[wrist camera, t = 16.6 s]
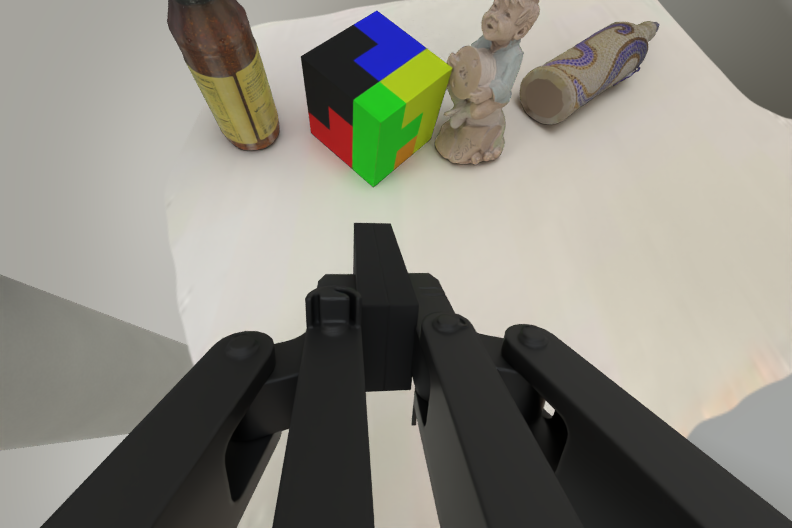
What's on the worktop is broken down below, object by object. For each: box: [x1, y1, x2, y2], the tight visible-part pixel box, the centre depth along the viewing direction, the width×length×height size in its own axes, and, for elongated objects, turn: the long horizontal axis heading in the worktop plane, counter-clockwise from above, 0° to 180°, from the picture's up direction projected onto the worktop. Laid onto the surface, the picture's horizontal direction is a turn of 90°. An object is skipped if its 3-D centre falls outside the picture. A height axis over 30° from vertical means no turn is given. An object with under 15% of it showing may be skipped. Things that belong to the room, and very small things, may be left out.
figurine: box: [435, 0, 540, 164], centre depth 35 cm, size 9×8×20 cm
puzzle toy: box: [301, 11, 452, 187], centre depth 38 cm, size 10×10×10 cm
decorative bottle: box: [520, 21, 659, 124], centre depth 48 cm, size 26×8×7 cm, turn 129°
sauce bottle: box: [167, 0, 279, 150], centre depth 32 cm, size 6×6×20 cm
